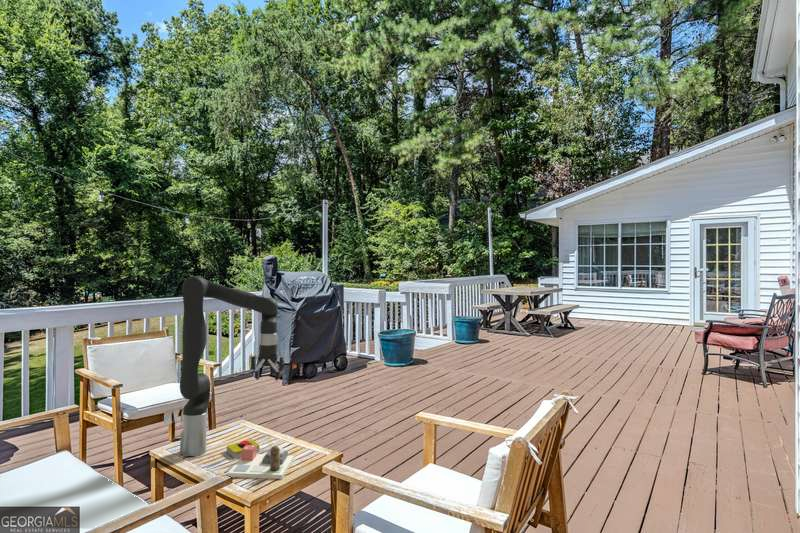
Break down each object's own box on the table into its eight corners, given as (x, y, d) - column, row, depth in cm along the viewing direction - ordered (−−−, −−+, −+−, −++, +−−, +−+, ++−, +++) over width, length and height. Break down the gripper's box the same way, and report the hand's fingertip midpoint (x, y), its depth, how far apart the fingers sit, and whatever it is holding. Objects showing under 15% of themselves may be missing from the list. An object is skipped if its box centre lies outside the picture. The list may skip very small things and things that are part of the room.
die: (241, 460, 178) (241, 449, 178) (245, 455, 182) (246, 444, 182) (252, 460, 178) (252, 449, 178) (256, 456, 182) (256, 445, 182)
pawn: (268, 471, 169) (269, 448, 169) (271, 467, 172) (271, 444, 172) (278, 471, 169) (278, 448, 169) (280, 467, 172) (281, 444, 172)
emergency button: (263, 441, 191) (229, 451, 181) (263, 451, 191) (229, 461, 181) (254, 435, 198) (221, 443, 188) (254, 445, 198) (220, 454, 188)
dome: (265, 461, 176) (265, 450, 176) (270, 454, 182) (270, 444, 182) (280, 462, 176) (281, 451, 176) (285, 455, 182) (285, 444, 182)
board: (227, 476, 167) (227, 467, 167) (244, 457, 184) (244, 448, 184) (282, 478, 166) (282, 469, 166) (293, 459, 184) (294, 450, 183)
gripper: (249, 344, 191) (248, 381, 191) (281, 345, 190) (280, 382, 190) (255, 341, 198) (254, 376, 198) (286, 342, 198) (285, 378, 198)
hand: (267, 379), depth 194 cm, fingers open, 8 cm apart
